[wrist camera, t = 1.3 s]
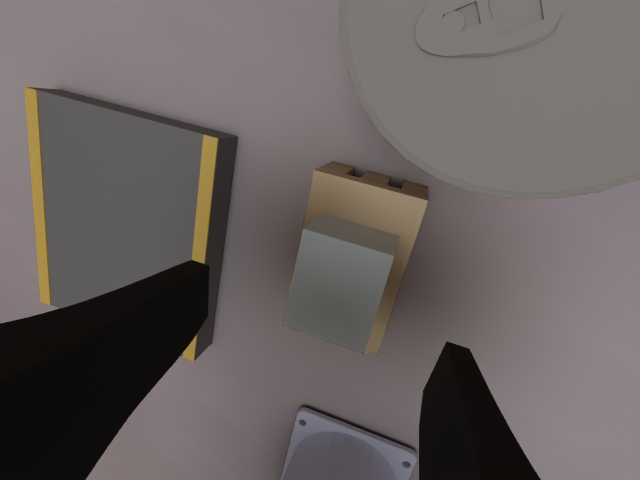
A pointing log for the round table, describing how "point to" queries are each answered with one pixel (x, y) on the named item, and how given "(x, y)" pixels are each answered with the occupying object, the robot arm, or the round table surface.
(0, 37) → the round table surface
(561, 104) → the canned food
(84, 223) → the dock
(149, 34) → the round table surface
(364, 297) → the grey block
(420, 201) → the pallet
